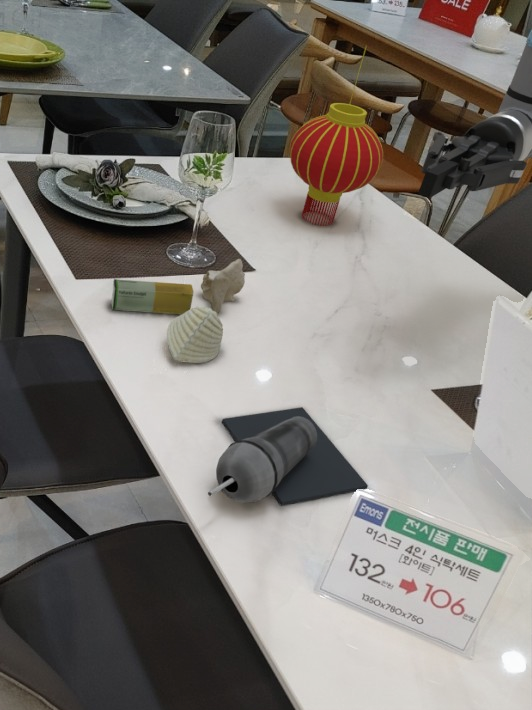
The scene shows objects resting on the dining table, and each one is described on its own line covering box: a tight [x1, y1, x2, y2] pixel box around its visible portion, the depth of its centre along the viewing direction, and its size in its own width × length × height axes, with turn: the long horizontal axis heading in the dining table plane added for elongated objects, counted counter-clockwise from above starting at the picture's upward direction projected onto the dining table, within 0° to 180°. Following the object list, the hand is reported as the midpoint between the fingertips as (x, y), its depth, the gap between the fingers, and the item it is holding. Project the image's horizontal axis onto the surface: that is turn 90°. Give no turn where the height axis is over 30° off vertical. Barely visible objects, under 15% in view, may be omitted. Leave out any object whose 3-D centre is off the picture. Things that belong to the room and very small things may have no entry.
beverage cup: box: [207, 416, 317, 504], centre depth 87 cm, size 7×7×20 cm
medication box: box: [111, 278, 194, 315], centre depth 115 cm, size 12×3×4 cm, turn 94°
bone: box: [200, 258, 246, 315], centre depth 118 cm, size 9×6×10 cm
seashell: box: [166, 306, 224, 364], centre depth 108 cm, size 8×8×8 cm
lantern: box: [288, 45, 384, 227], centre depth 140 cm, size 17×17×30 cm
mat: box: [221, 406, 369, 507], centre depth 95 cm, size 16×12×1 cm
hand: (427, 184), depth 90 cm, fingers closed
